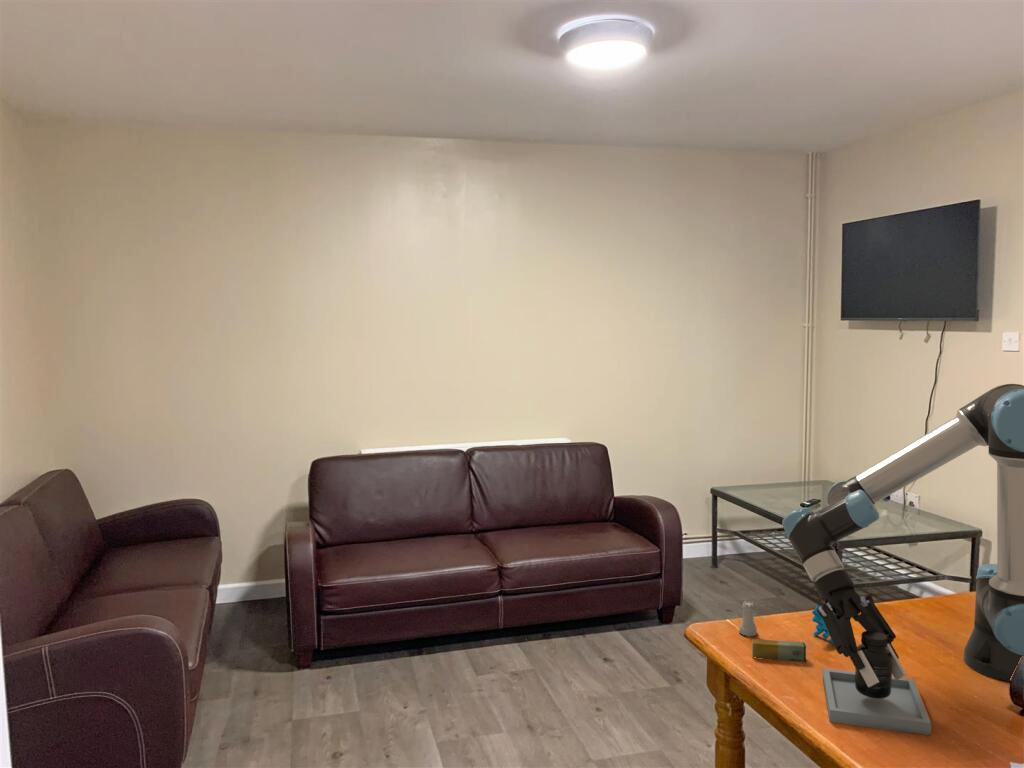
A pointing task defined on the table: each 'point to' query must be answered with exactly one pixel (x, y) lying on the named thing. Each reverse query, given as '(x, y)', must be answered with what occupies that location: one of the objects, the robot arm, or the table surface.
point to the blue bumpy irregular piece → (820, 625)
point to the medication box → (779, 650)
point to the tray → (875, 704)
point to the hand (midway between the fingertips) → (887, 680)
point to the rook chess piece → (748, 620)
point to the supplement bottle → (875, 665)
